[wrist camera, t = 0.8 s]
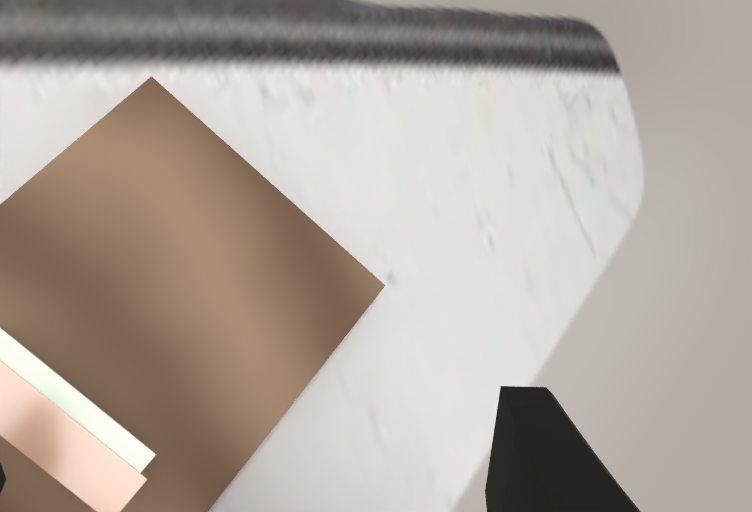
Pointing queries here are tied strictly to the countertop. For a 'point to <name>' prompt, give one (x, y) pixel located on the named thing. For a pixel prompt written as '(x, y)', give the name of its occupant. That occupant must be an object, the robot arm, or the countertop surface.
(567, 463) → the robot arm
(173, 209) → the board
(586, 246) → the countertop surface
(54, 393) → the tile
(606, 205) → the countertop surface
